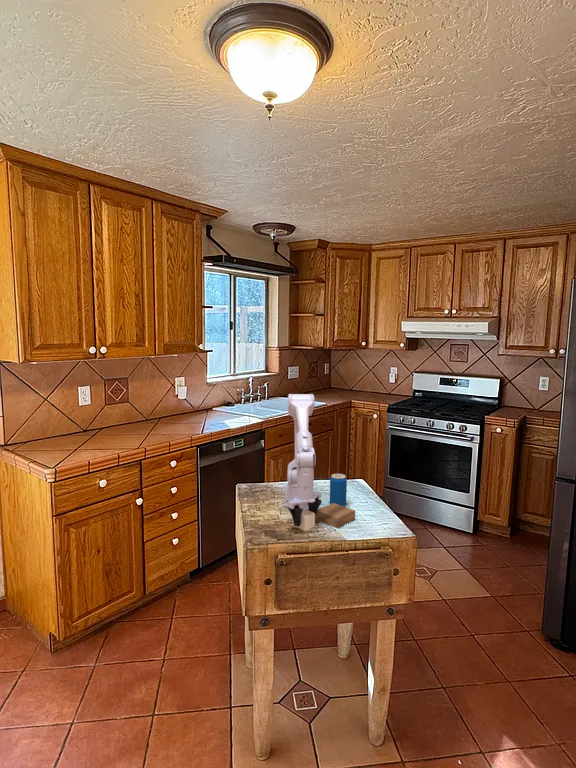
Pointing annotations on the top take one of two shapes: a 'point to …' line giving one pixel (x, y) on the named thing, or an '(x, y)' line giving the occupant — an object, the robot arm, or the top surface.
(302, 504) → the robot arm
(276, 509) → the top surface
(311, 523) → the cube
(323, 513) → the walnut box
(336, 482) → the beverage can
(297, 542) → the top surface
